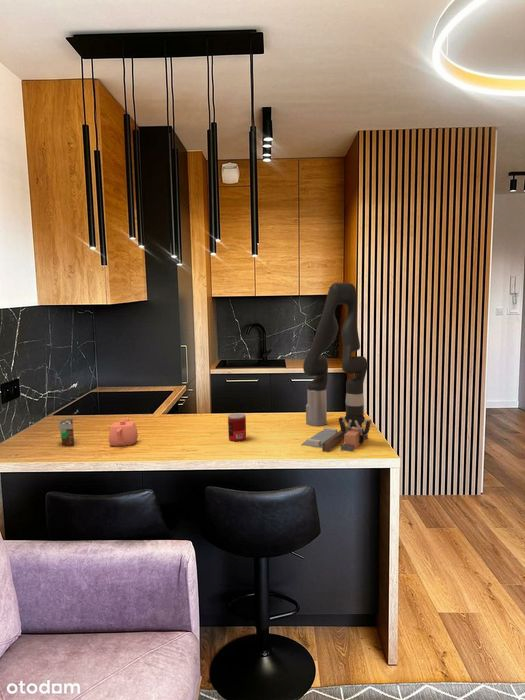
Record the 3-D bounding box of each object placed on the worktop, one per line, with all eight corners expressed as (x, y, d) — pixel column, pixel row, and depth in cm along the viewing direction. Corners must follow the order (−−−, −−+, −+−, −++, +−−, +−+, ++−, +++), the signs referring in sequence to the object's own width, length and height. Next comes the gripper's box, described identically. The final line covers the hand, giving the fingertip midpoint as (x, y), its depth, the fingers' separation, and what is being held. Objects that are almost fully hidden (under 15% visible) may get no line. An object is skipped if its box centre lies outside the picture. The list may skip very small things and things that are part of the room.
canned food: (249, 438, 230) (248, 414, 229) (239, 442, 224) (239, 418, 222) (235, 435, 234) (234, 412, 233) (225, 440, 228) (224, 416, 226)
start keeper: (340, 449, 211) (340, 445, 211) (357, 436, 228) (357, 432, 228) (352, 451, 209) (352, 446, 208) (367, 438, 226) (367, 433, 226)
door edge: (322, 451, 210) (322, 443, 209) (348, 432, 236) (348, 424, 235) (326, 452, 209) (326, 443, 208) (352, 432, 235) (352, 425, 234)
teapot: (105, 449, 219) (103, 426, 218) (116, 437, 237) (115, 415, 235) (132, 449, 219) (131, 425, 218) (141, 436, 237) (140, 414, 235)
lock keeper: (301, 444, 219) (301, 439, 219) (321, 431, 238) (321, 426, 238) (322, 448, 214) (322, 442, 214) (341, 434, 233) (341, 429, 233)
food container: (59, 440, 234) (57, 419, 232) (74, 438, 236) (72, 417, 234) (59, 448, 222) (57, 426, 221) (74, 446, 224) (72, 424, 223)
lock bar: (344, 448, 213) (344, 434, 213) (354, 439, 226) (354, 425, 225) (354, 449, 211) (354, 435, 211) (364, 440, 224) (364, 426, 223)
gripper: (374, 403, 216) (373, 442, 218) (341, 399, 223) (342, 437, 225) (368, 407, 210) (368, 447, 212) (335, 403, 217) (335, 442, 219)
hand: (354, 442), depth 218 cm, fingers open, 5 cm apart
